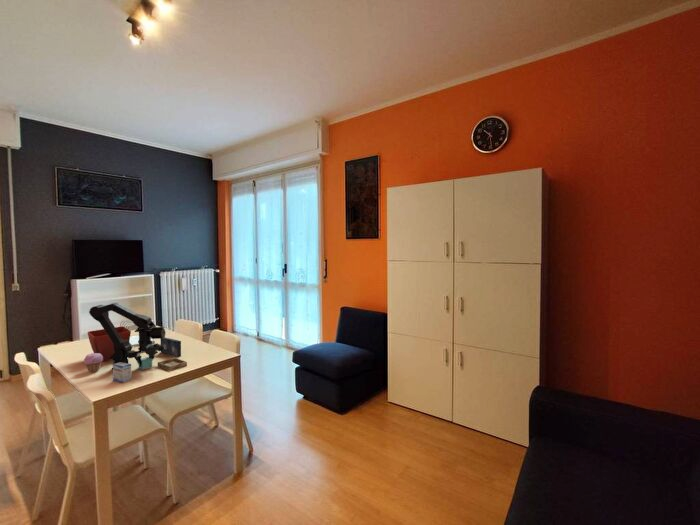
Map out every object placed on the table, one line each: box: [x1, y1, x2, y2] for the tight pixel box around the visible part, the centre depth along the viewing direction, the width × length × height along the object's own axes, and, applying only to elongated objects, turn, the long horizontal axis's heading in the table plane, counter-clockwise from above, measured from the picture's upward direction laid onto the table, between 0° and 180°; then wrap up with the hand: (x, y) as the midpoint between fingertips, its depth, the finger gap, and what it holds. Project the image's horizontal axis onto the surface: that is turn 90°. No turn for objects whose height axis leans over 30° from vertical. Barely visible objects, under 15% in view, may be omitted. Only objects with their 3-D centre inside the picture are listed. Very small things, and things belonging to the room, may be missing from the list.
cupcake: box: [83, 352, 104, 373], centre depth 188 cm, size 9×9×10 cm
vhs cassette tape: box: [160, 336, 182, 358], centre depth 218 cm, size 18×3×10 cm, turn 59°
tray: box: [157, 357, 188, 371], centre depth 196 cm, size 10×13×2 cm
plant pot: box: [87, 325, 132, 363], centre depth 211 cm, size 19×19×17 cm
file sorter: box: [119, 319, 156, 348], centre depth 246 cm, size 25×17×16 cm
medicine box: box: [112, 362, 132, 384], centre depth 175 cm, size 8×4×9 cm, turn 69°
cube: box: [138, 356, 153, 370], centre depth 194 cm, size 5×5×5 cm
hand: (145, 365), depth 194 cm, fingers closed on cube, 5 cm apart
